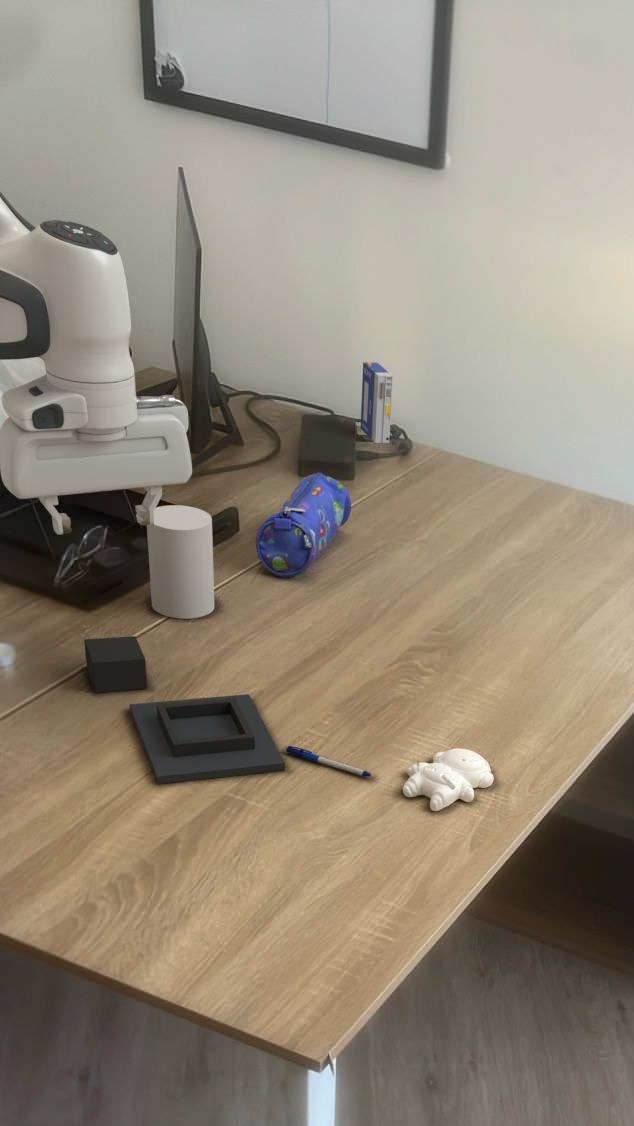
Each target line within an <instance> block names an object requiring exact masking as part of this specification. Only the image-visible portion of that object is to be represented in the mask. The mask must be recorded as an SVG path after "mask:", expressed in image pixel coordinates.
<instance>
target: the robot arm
mask: <svg viewBox="0 0 634 1126" xmlns="http://www.w3.org/2000/svg"><path fill="white" fill-rule="evenodd" d="M128 290H129V289H128V283H127V279H126V271H125V268H124V263H123V260H122V257H121V254H120V252H119V250H118V248H117V246H116V244H115V243H114V242H113V241H112V240H111V239H110V238H109V237H107V236H106V235H105V234H103V233H102V232H100V231H98V230H97V229H95V228H92V227H90V226H88V225H84V224H81V223H77V222H74V221H65V220H60V219H50V220H45V221H42V222H40V223H39V224H38V225H37V226H36V227H35V226H34V225H33V224H31V223H30V221H28V220H27V219H25V217H23V216H22V215H21V214H20V213H19V212H18V211H17V210H16V209H15V208H14V206H13V205H12V204H11V203H10V202H9V201H8V199H7V198H6V197H5V195H4V194H3V193H2V192H1V191H0V360H1V361H2V360H4V361H5V360H6V361H7V360H9V361H10V360H25V359H34V358H39V359H41V360H42V361H43V363H44V366H45V374H43V375H42V376H40V377H37V378H35V379H33V380H30V381H28V382H26V383H24V384H21V385H19V386H16V387H14V388H11V389H9V390H7V391H5V392H3V394H2V395H1V402H2V408H3V410H4V412H5V414H6V415H7V416H8V417H7V418H6V419H4V421H3V423H2V425H1V427H0V477H1V481H2V483H3V485H4V487H5V488H6V490H8V491H9V492H10V493H11V494H12V495H13V496H14V497H16V498H17V499H18V500H27V499H28V500H29V499H38V500H39V501H40V503H41V504H42V506H44V508H45V509H46V510H47V512H48V513H49V514H50V516H51V521H52V528H53V531H54V532H55V533H56V535H59V536H61V535H62V536H63V535H67V534H72V533H73V532H72V528H71V525H72V523H71V522H72V521H71V518H70V517H69V516H68V514H67V513H66V512H62V513H61V512H58V510H57V509H56V508H55V506H58V505H59V499H58V498H59V497H58V496H67V495H79V494H90V493H101V492H109V491H110V492H111V491H118V490H119V491H121V490H131V489H139V488H140V489H141V488H143V489H144V490H145V491H146V494H145V496H144V498H143V501H142V503H141V504H139V505H138V504H137V505H134V508H135V512H136V514H135V519H136V522H137V523H138V524H139V525H140V526H147V525H150V524H154V510H155V508H157V507H158V504H159V502H160V500H161V499H162V496H163V486H171V485H172V486H173V485H181V484H182V485H183V484H186V483H188V482H189V480H190V478H191V477H192V475H193V463H192V456H191V450H190V443H189V439H188V436H187V432H188V430H189V425H190V424H189V411H188V408H187V406H186V404H185V403H184V402H183V401H182V400H180V399H178V398H175V396H174V395H171V394H162V395H161V396H151V395H145V396H144V395H143V396H142V395H141V396H137V389H136V376H135V372H136V371H135V366H134V363H133V360H132V357H131V355H130V337H131V333H132V318H131V308H130V298H129V297H130V296H129V291H128Z"/></svg>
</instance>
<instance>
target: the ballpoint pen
mask: <svg viewBox="0 0 634 1126" xmlns="http://www.w3.org/2000/svg"><path fill="white" fill-rule="evenodd" d="M285 751H286V752H287V753H288V754H291V755H293V756H296V757H299V758H304V759H306V760H310V761H313V762H316V763H321V764H324V765H326V766H330V767H334V768H336V769H339V770H343V771H346V772H349V773H353V774H355V775H359V776H363V777H369V778H370V777H371V775H372V773H371V772H368V771H366V770H364V769H362V768H359V767H355V766H352V765H348V764H345V763H342V762H339V761H336V760H333V759H330V758H325V757H323V756H320V755H317V754H315V753H313V751H310V750H307V749H304V748H301V747H299V746H293V745H288V746H287V747H286V749H285Z"/></svg>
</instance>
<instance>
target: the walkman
mask: <svg viewBox="0 0 634 1126" xmlns="http://www.w3.org/2000/svg"><path fill="white" fill-rule="evenodd" d="M393 377H394V376H393V375H392V374H391V373H390V372H389V371H388V370H386V369H385V368H384V367H383V366H382V365H381V364H379V362H370V361H366V362H365V361H364V362H362V380H361V381H362V384H361V406H360V407H361V409H360V430H361V431H362V432H363V433H364V434H365V435H366V436H367V437H368V438H369V439H370V440H371V441H372V442H373V443H374V444H390V436H391V421H392V420H391V419H392V401H393V398H392V396H393V379H394V378H393Z"/></svg>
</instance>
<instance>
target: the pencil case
mask: <svg viewBox="0 0 634 1126" xmlns="http://www.w3.org/2000/svg"><path fill="white" fill-rule="evenodd" d="M278 511H279V512H276V513H273V514H272V515H271V516H270V517H268V518H267V519H266V520H265V521H264V522H263V523H261V524H260V526H259V529H258V531H257V533H256V537H255V551H256V554H257V557H258V559H259V561H260V563H261V564H262V566H263V567H264V568H265V569H266V570H268V572H270V573H271V574H273V575H275V576H277V577H279V578H284V579H285V578H292V577H294V576H298V575H300V574H302V573H304V572H305V571H306V570H307V569H309V567H310V565H311V564H312V563H313V562H314V561H315V560H317V559H318V557H319V556H320V555H321V554H322V552H323V551H324V550H325V549H326V548H327V546H329V544H330V543H331V541H332V540H333V539H334V537H335V536H336V534H337V533H338V531H339V529H340V528H341V527H343V526H344V525H345V524H346V523H347V522H348V519H349V518H350V515H351V512H352V500H351V496H350V494H349V491H348V490H347V488H346V487H345V486H344V485H343V484H342V483H341V482H340V481H338V480H337V479H335V478H333V477H330V476H329V475H325V474H323V473H322V472H316V473H313V474H310V475H307V476H305V477H303V478H302V479H301V481H299V483H298V485H297V486H296V487H295V488H294V490H293V491H292V492H291V494H290V495H289V497H288V498H287V499H286V500H285V502H284V503H283V505H282V507H281V509H279V510H278Z"/></svg>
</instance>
